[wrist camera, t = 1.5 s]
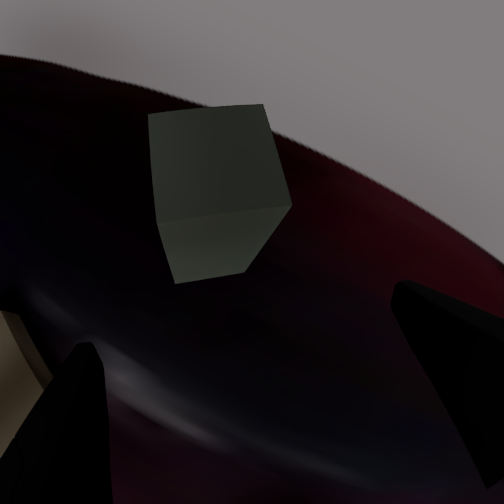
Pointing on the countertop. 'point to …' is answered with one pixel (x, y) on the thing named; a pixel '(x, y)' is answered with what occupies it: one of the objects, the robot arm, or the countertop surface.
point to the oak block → (18, 376)
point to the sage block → (215, 188)
